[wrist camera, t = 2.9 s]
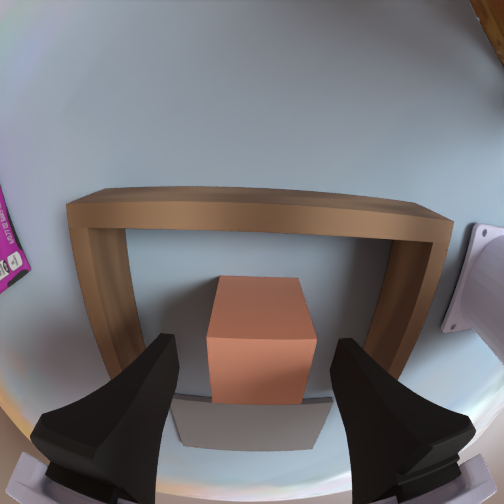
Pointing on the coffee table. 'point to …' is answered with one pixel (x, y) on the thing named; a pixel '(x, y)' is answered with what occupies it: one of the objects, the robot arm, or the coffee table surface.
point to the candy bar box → (10, 251)
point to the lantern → (492, 22)
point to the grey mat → (249, 424)
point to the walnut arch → (255, 220)
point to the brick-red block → (259, 341)
